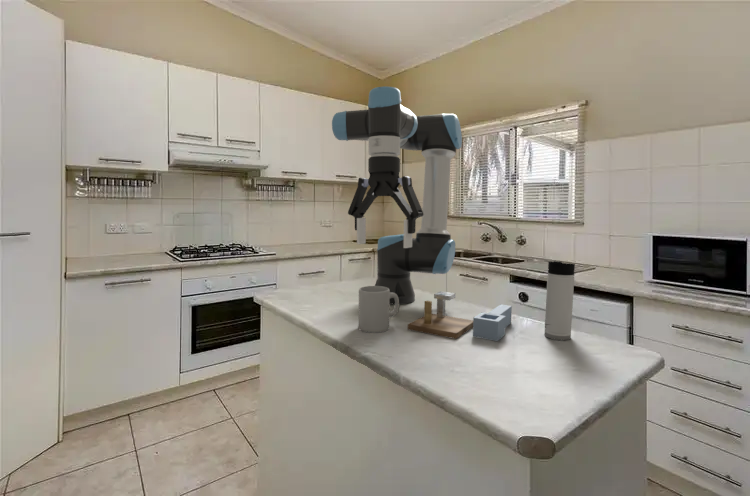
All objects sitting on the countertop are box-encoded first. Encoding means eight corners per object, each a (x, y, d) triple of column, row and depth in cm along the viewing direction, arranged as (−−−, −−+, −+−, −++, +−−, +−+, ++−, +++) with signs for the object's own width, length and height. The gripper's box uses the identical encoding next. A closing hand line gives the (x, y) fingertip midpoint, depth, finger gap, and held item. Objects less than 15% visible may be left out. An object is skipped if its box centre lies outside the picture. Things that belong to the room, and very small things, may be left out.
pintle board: (429, 318, 123) (430, 293, 122) (474, 325, 116) (475, 299, 115) (407, 329, 112) (408, 302, 111) (456, 338, 104) (457, 310, 104)
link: (497, 341, 103) (498, 321, 102) (472, 336, 106) (473, 317, 106) (516, 323, 118) (517, 306, 117) (494, 320, 121) (495, 303, 121)
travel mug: (540, 337, 106) (544, 260, 104) (549, 331, 111) (553, 258, 109) (565, 342, 102) (570, 263, 100) (574, 336, 107) (578, 260, 105)
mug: (366, 334, 107) (367, 293, 106) (353, 325, 115) (353, 287, 114) (406, 328, 113) (406, 289, 112) (390, 320, 120) (391, 283, 119)
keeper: (439, 315, 120) (439, 291, 119) (455, 318, 117) (456, 293, 117) (432, 319, 116) (432, 293, 115) (448, 322, 114) (449, 296, 113)
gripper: (333, 158, 101) (334, 243, 104) (423, 151, 87) (421, 250, 90) (352, 160, 107) (352, 241, 110) (439, 154, 93) (437, 247, 96)
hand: (383, 245), depth 100 cm, fingers open, 13 cm apart
